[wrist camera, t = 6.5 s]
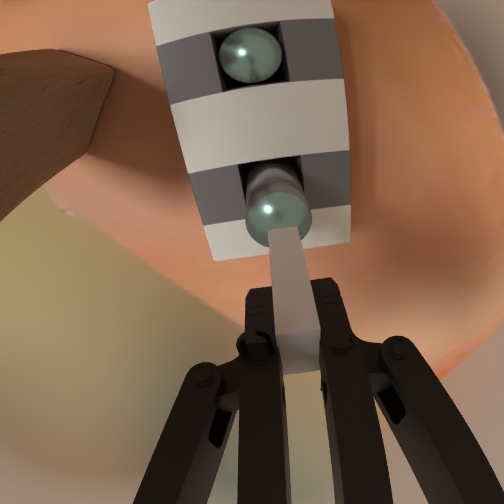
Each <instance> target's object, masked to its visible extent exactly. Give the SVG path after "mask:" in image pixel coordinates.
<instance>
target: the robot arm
mask: <svg viewBox="0 0 504 504" xmlns="http://www.w3.org/2000/svg"><path fill="white" fill-rule="evenodd" d="M268 242H269V254H270V267H271V280H272V286H270V287H262V288H254V289H250V291H249V293H248V294H247V296H246V301H245V308H246V309H245V332H244V333H242V334H241V335H240V337H239V338H238V339H237V343H236V347H237V350H238V352H239V356H238V357H236V358H235V359H234V360H232V361H230V362H227V363H224V364H222V365H219V366H216V365H215V364H212V363H210V362H202V363H199V364H196V365H195V366H193V367H192V368H191V369H190V370H189V371H188V373H187V375H186V377H185V379H184V381H183V384H182V386H181V389H180V391H179V393H178V396H177V398H176V400H175V403H174V405H173V407H172V410H171V412H170V414H169V417H168V419H167V422H166V424H165V427H164V429H163V431H162V434H161V436H160V439H159V441H158V443H157V446H156V448H155V450H154V453H153V455H152V458H151V460H150V462H149V465H148V467H147V470H146V472H145V475H144V477H143V480H142V482H141V484H140V487H139V489H138V492H137V494H136V497H135V499H134V502H133V504H207V501H208V498H209V495H210V492H211V489H212V487H213V483H214V480H215V478H216V474H217V472H218V468H219V465H220V462H221V459H222V456H223V453H224V450H225V447H226V444H227V441H228V438H229V434H230V431H231V428H232V425H233V422H234V418H235V415H236V412H237V410H239V447H238V448H239V449H238V498H237V501H238V502H237V504H291V484H290V465H289V448H288V433H287V432H288V431H287V416H286V401H285V388H284V382H283V375H287V374H295V373H302V372H310V371H317V370H320V372H321V391H322V393H323V400H324V407H325V414H326V422H327V430H328V438H329V446H330V455H331V464H332V473H333V484H334V494H335V504H393V499H392V491H391V485H390V478H389V472H388V466H387V460H386V454H385V449H384V444H383V439H382V434H381V429H380V424H379V420H378V416H377V411H376V406H375V402H374V398H375V400H376V402H377V404H378V405H379V407H380V409H381V411H382V413H383V415H384V417H385V418H386V420H387V422H388V424H389V426H390V428H391V430H392V432H393V434H394V436H395V437H396V439H397V441H398V443H399V445H400V447H401V449H402V451H403V453H404V455H405V457H406V459H407V460H408V462H409V465H410V466H411V469H412V470H413V473H414V474H415V477H416V479H417V480H418V483H419V485H420V487H421V489H422V491H423V493H424V495H425V497H426V499H427V501H428V503H429V504H504V491H503V489H502V487H501V485H500V483H499V481H498V479H497V477H496V475H495V473H494V471H493V469H492V467H491V465H490V464H489V462H488V460H487V458H486V456H485V454H484V453H483V451H482V449H481V447H480V445H479V444H478V442H477V440H476V438H475V437H474V435H473V433H472V432H471V430H470V428H469V426H468V425H467V423H466V422H465V420H464V418H463V417H462V415H461V413H460V412H459V410H458V409H457V407H456V405H455V404H454V402H453V401H452V399H451V398H450V396H449V395H448V393H447V392H446V390H445V388H444V387H443V385H442V384H441V382H440V381H439V379H438V378H437V376H436V375H435V374H434V372H433V371H432V369H431V368H430V366H429V365H428V363H427V362H426V361H425V359H424V358H423V356H422V355H421V353H420V352H419V351H418V349H417V348H416V347H415V345H414V344H413V343H412V342H411V341H410V340H409V339H408V338H406V337H403V336H393V337H389V338H388V339H386V340H385V341H384V342H383V343H373V342H366V341H363V340H361V339H359V338H358V337H356V336H355V334H354V333H353V332H352V329H351V327H350V323H349V320H348V317H347V313H346V310H345V307H344V303H343V300H342V297H341V295H340V291H339V288H338V285H337V284H336V283H335V281H334V280H333V279H332V278H331V277H329V278H323V279H316V280H310V278H309V274H308V269H307V265H306V261H305V257H304V253H303V248H302V244H301V240H300V236H299V232H298V228H297V226H295V227H288V228H281V229H273V230H268ZM373 396H374V398H373Z"/></svg>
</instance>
